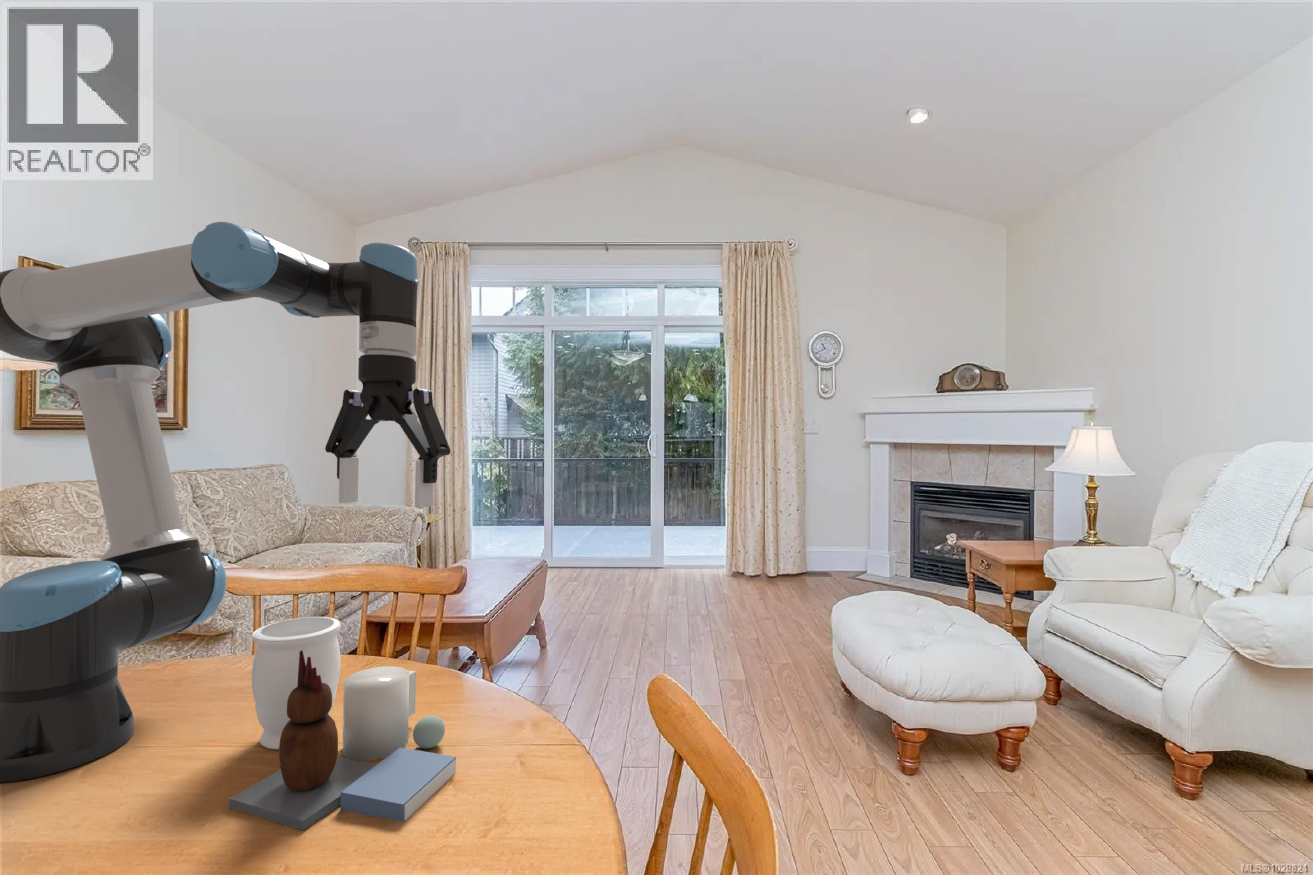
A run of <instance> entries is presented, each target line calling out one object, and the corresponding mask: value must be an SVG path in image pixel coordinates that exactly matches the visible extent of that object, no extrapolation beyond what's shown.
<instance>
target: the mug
mask: <svg viewBox="0 0 1313 875" xmlns="http://www.w3.org/2000/svg"><path fill="white" fill-rule="evenodd" d="M416 683H417V671H416V670H407V669H406V668H404V667H400V666H389V665H388V666H377V667H371V668H365V669H362V670H360V671H356V672H355V673H352V674H350V675H349V676H347V677H346V678H345V679H344V681H343V697H342V698H343V701H342V703H343V704H342V705H343V706H342V710H343V711H342V755H343V756H344V758H348V759H352V760H356V761H361V762H364V761H375V760H378V759H382V758H387V757H388V756H389V755H391V754H392V753H393V752H395V751H396V750H397V749H398V748H400V747H401V748H405V746H406V745H407V744H408V742H409V718H410V717H411V716H412V715H415V714H416V697H417V696H416V693H417V692H416V688H417V687H416V686H417V685H416Z"/></svg>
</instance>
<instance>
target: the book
mask: <svg viewBox="0 0 1313 875" xmlns="http://www.w3.org/2000/svg"><path fill="white" fill-rule="evenodd" d="M456 761H457V756H453V755H447V754H441V753H436V752H435V753H434V752H431V751H430V752H428V751H425V750H417V749H412V748H406V747H403V748H401V747H400V748H398V749H397V750H396V751H395V752H393V753H392V754H391V755H389V756H386V757H384V759H383V760H381V761H380V762H378V763H377V764H376V766H375V767H373V768H372V769H371V770H369V771H368V772H367V773H365V774H364V775H363V776H361V777H360V778H359V779H358V780H356V781H355V782H354V783H352V784H351V785H350V786H348V787H347V788H346V789H344V790H343V791H342V792H341V804H340V805H339V808H340V811H345V812H349V813H356V814H361V815H366V816H372V817H377V818H380V819H386V820H391V821H397V822H402V823H403V822H405V821H407V820H408V819H409V818H410V817H411V816H412V815H413V814H414V813H415V812H416V811H417V810H418V809H419V808H421V806H422V805H424V803H425V802H427V801H428V800H429V799H430V797H432V796H433V795H434V794H435V793H436V792H437V791H439V790H440V788H441V787H442V786H443V785H444V784H445V783H447V782H448V781H449V780H450V779H451V778H452V777H453V776H454V775H455V774H456V770H457V769H456V768H457V767H456V766H457V765H456V764H457V762H456Z"/></svg>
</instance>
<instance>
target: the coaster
mask: <svg viewBox="0 0 1313 875" xmlns="http://www.w3.org/2000/svg"><path fill="white" fill-rule="evenodd" d="M376 765H377V764H376ZM376 765H375V764H372V763H368V762H364V761H361V760H352V759H349V758H347V757H345V756H344V757H343V756H340V755H337V759H336V763H335V766H334V769H333V771H332V774H331V776H330V778H329V779H327V780H326V781H325V782H324V783H323V784H322V785H320V786H318V787H316V788H314V789H311V790H307V791H295V790H292V789H290V788H288V787H287V786H286V785H285V783H284V780H283V777H282V773H281V769H279V770H277V771H276V772H273V773H272V774H270V775H269V776H267V777H265V778H263V779H262V780H259V781H257V782H256V783H255V784H252V785H251V786H248V787H247V788H245V789H243V790H242V791H240V792H238V793H237V794H234V795H233V796H231V797H229V799H228V808H230V809H234V810H235V811H239V812H242V813H246V814H249V815H252V816H255V817H258V818H261V819H265V820H268V821H271V822H275V823H277V824H282V825H284V826H289V827H291V828H294V829H297V830H301V831H304V830H306V829H307V828H309V827H310V826H311V825H313V824H315V822H317V821H319V820H320V819H322V818H323V817H324V816H326V815H328V814H329V813H330V812H333V810H335V809H336V808H338V807H340V804H341V792H342V791H343V790H344V789H346V788H347V787H348V786H350V785H351V784H352V783H354V782H355V781H356V780H358V779H359V778H360V777H361V776H363V775H364V774H365V773H367V772H368V771H369V770H371V769H372V768H373V767H375V766H376Z"/></svg>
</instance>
